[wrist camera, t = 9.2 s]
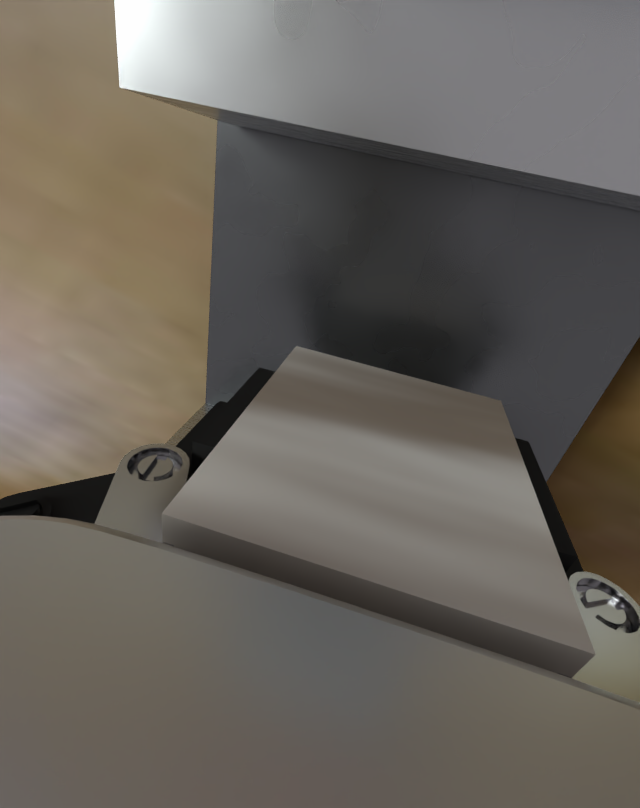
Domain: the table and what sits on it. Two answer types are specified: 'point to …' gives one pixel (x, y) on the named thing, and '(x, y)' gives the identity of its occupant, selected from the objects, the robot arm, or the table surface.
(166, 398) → the table surface
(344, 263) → the vise
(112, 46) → the table surface
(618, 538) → the table surface
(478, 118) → the sliding jaw
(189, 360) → the table surface
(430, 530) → the block
